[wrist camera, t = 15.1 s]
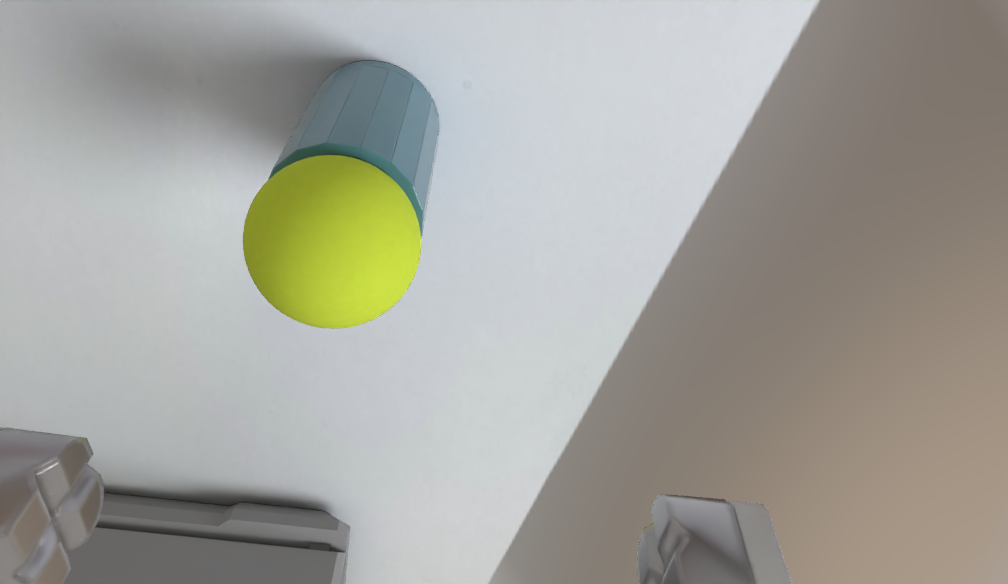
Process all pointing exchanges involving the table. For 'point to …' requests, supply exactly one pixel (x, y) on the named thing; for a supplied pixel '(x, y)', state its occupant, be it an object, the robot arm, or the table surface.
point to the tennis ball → (332, 241)
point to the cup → (372, 126)
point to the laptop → (209, 544)
